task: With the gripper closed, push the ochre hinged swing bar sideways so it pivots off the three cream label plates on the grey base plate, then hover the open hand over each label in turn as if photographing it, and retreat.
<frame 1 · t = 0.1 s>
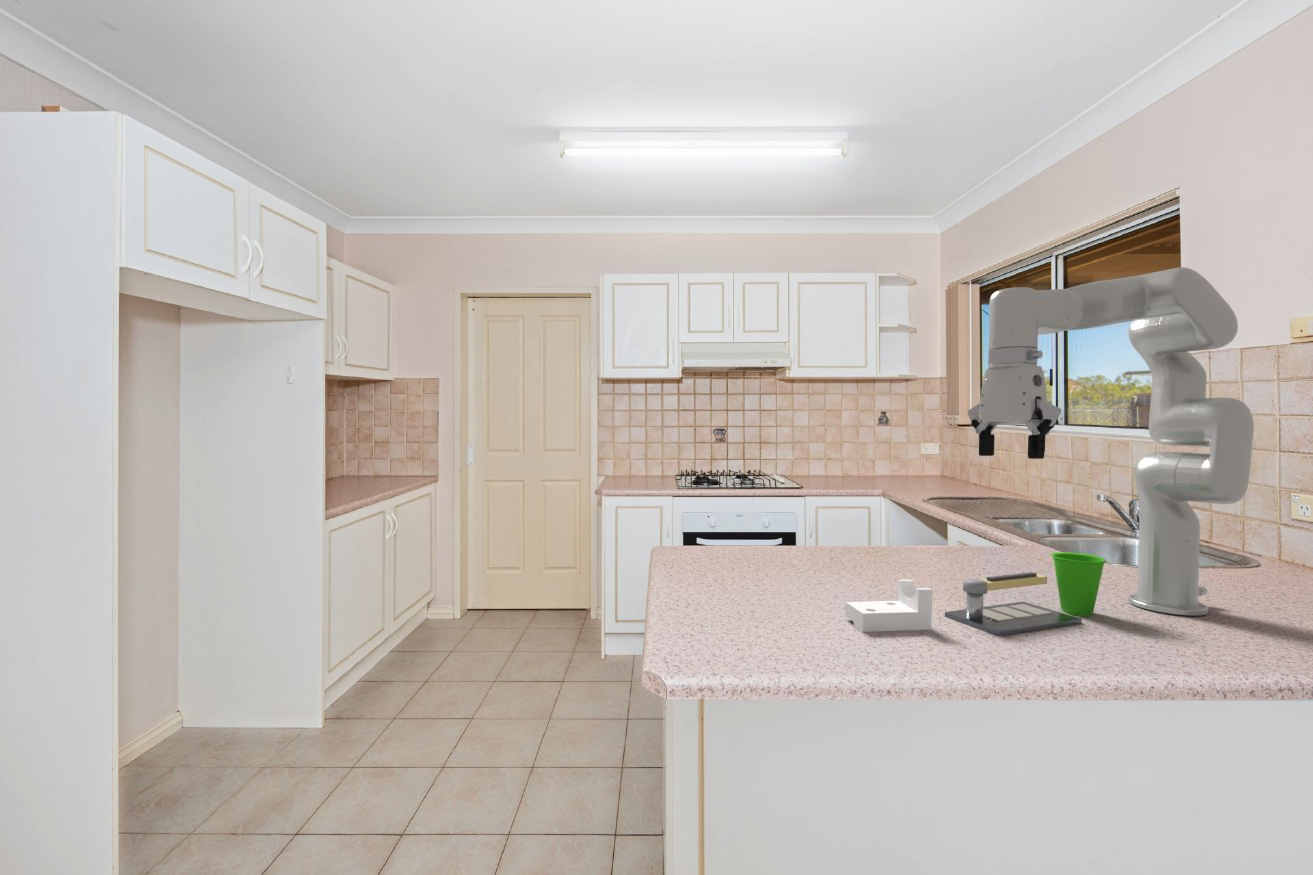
hand: (1010, 457, 110), 31 cm above the countertop, fingers open, 9 cm apart
bracket: (887, 627, 114), on the countertop
swing arm: (1005, 581, 118), point 7 cm above the countertop, hinge at 0.0°
cup: (1076, 613, 123), on the countertop
grey base plate: (1012, 619, 118), on the countertop
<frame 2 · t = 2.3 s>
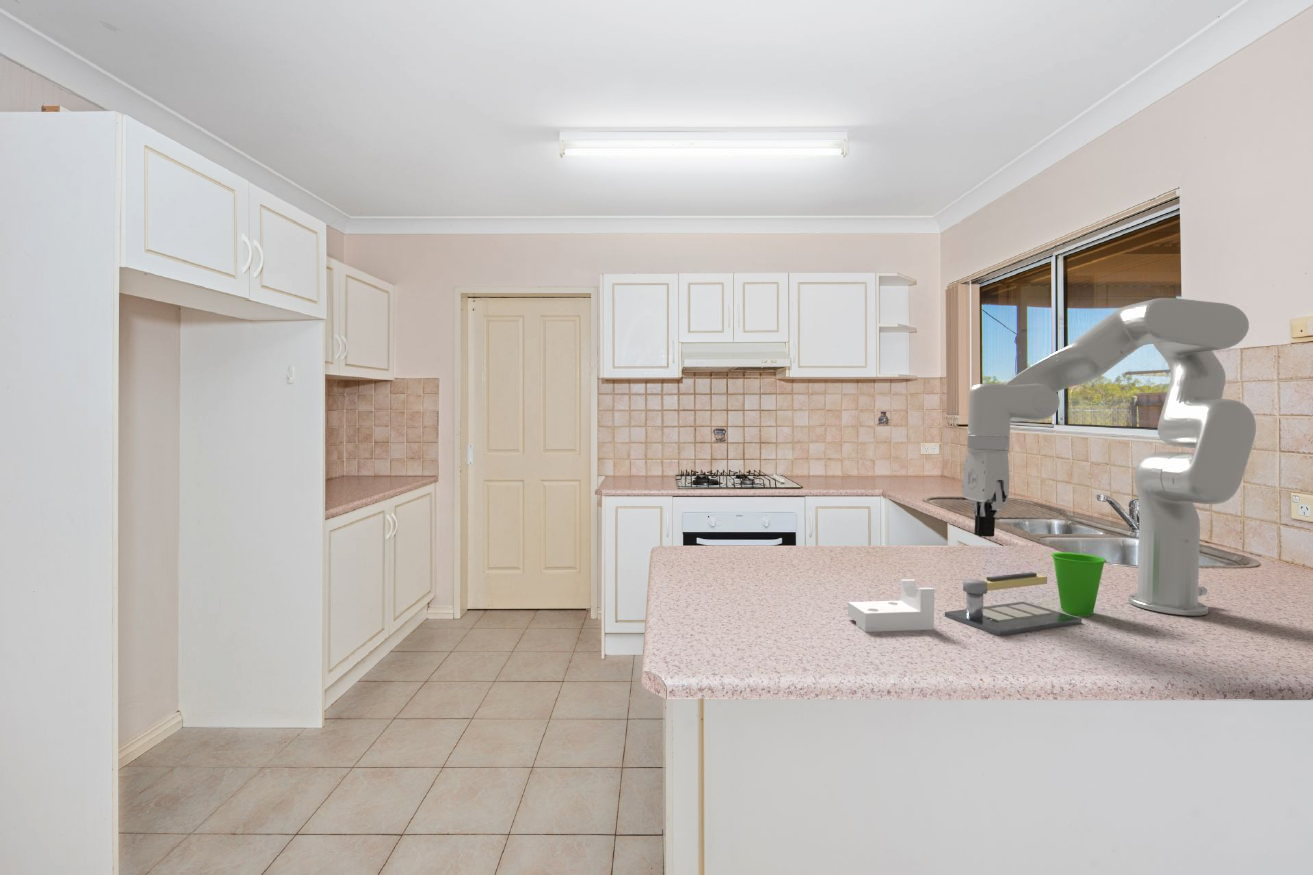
hand: (984, 535, 126), 14 cm above the countertop, fingers closed
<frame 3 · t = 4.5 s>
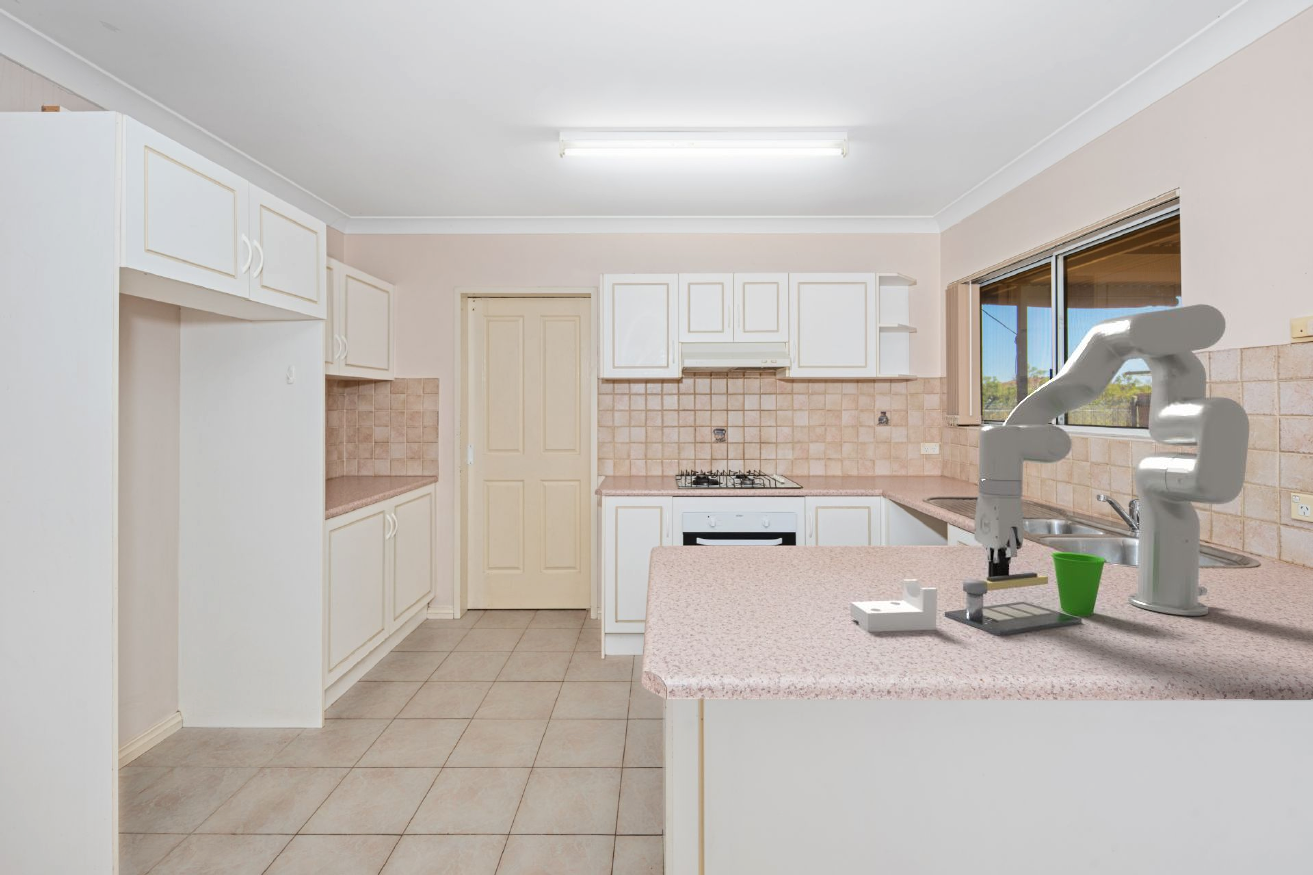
hand: (998, 582, 122), 6 cm above the countertop, fingers closed
swing arm: (1005, 581, 118), point 7 cm above the countertop, hinge at 0.5°, touching gripper
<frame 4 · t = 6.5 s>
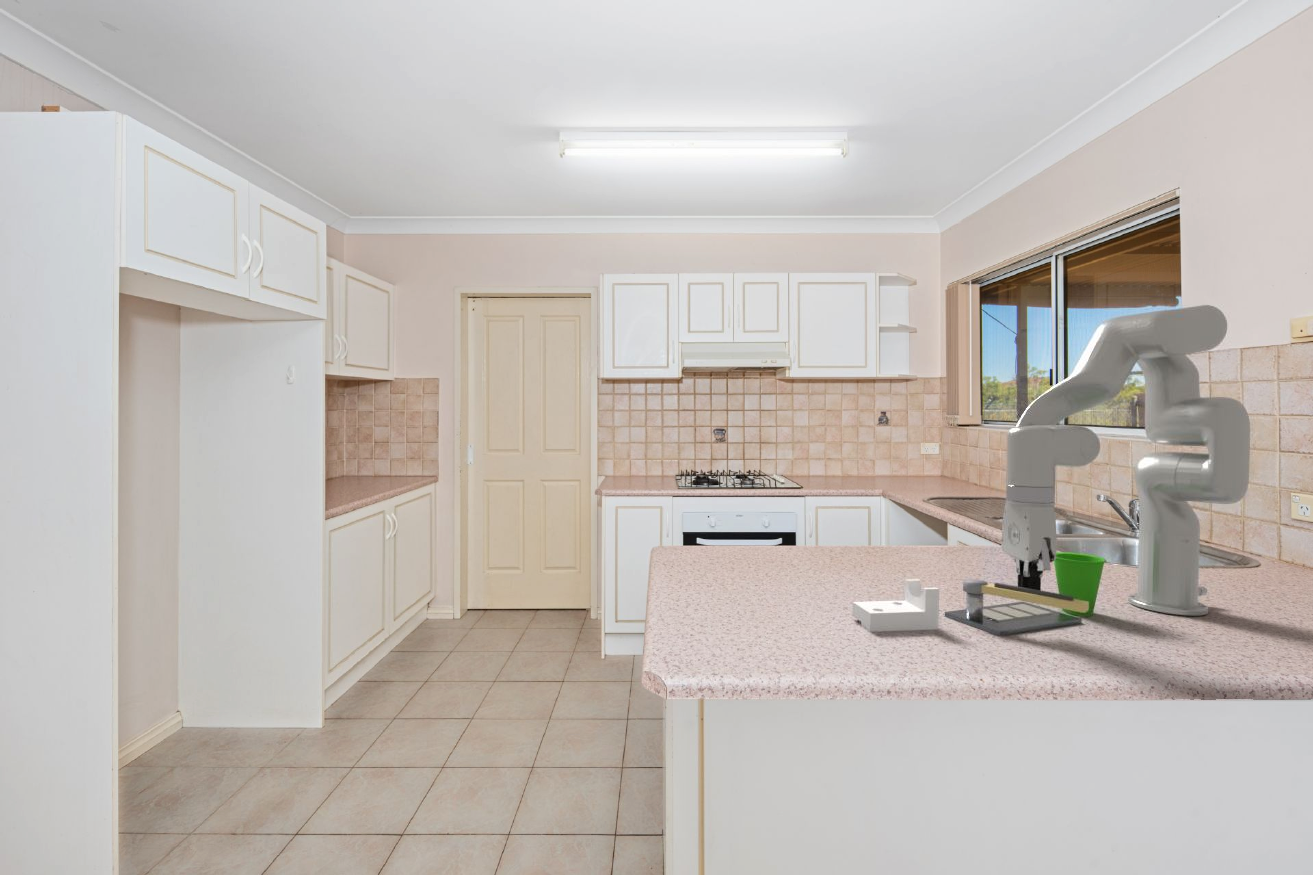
hand: (1028, 597, 112), 6 cm above the countertop, fingers closed
swing arm: (1021, 593, 110), point 7 cm above the countertop, hinge at 69.0°, touching gripper
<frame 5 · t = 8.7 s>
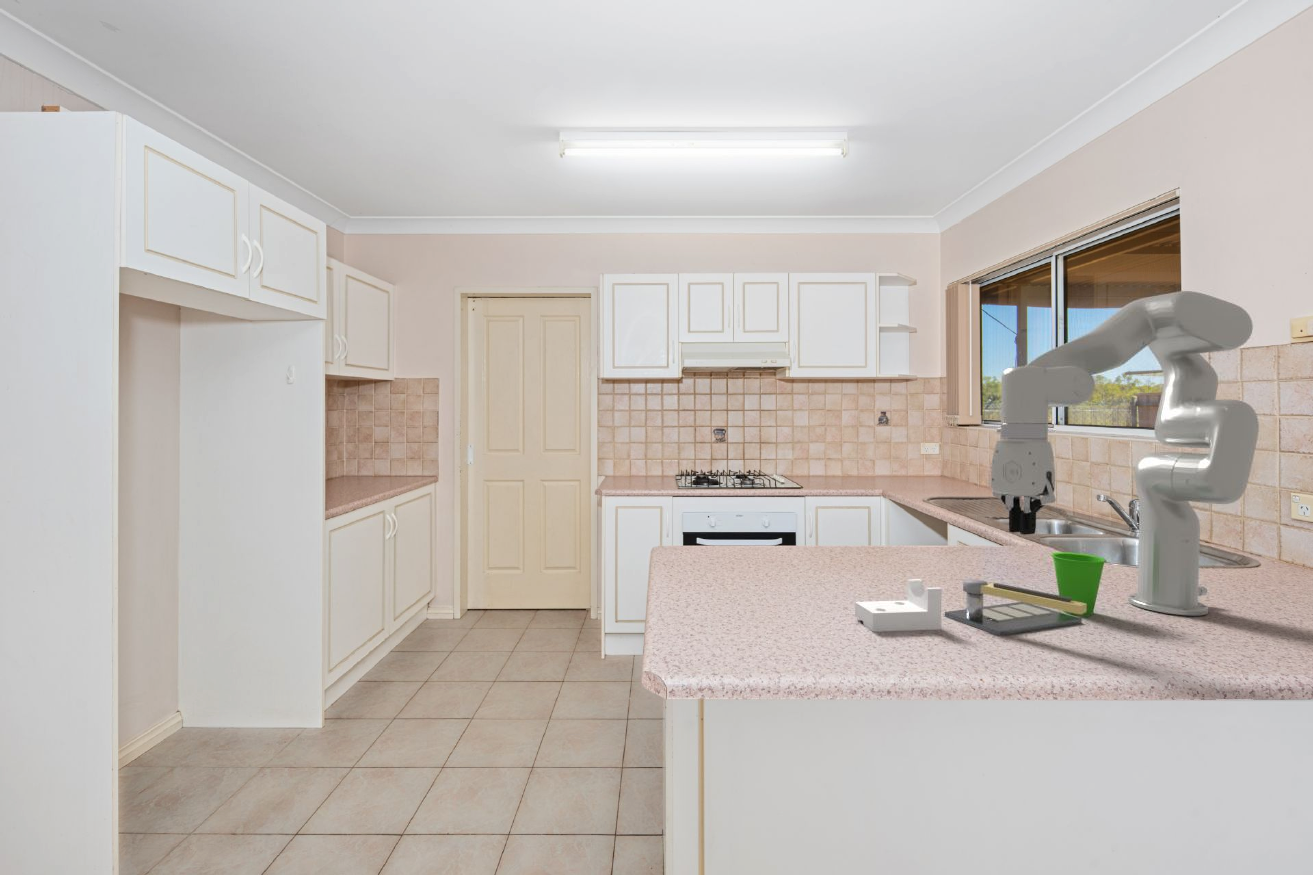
hand: (1022, 532, 115), 17 cm above the countertop, fingers closed
swing arm: (1019, 594, 109), point 7 cm above the countertop, hinge at 74.0°
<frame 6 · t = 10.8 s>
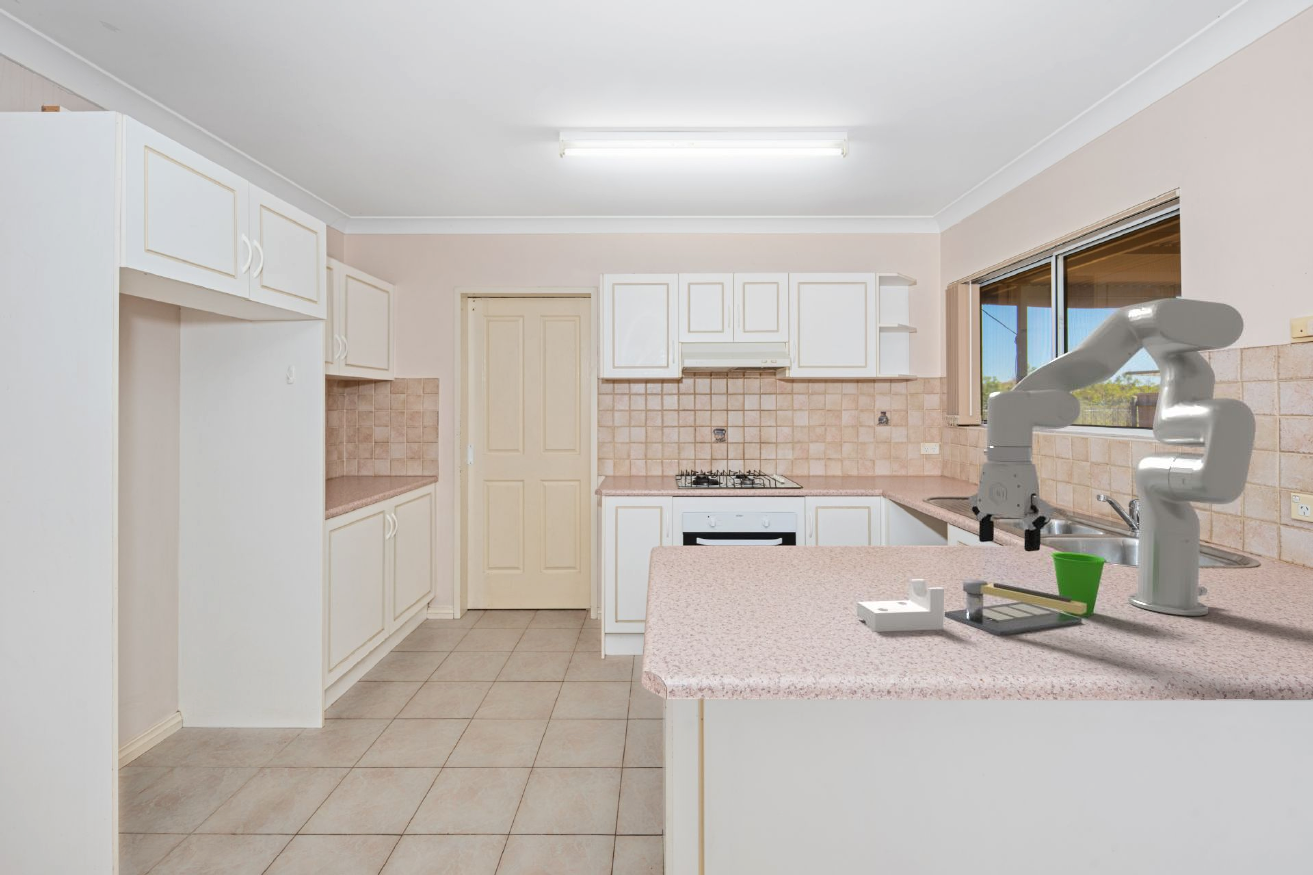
hand: (1008, 545, 118), 14 cm above the countertop, fingers open, 9 cm apart
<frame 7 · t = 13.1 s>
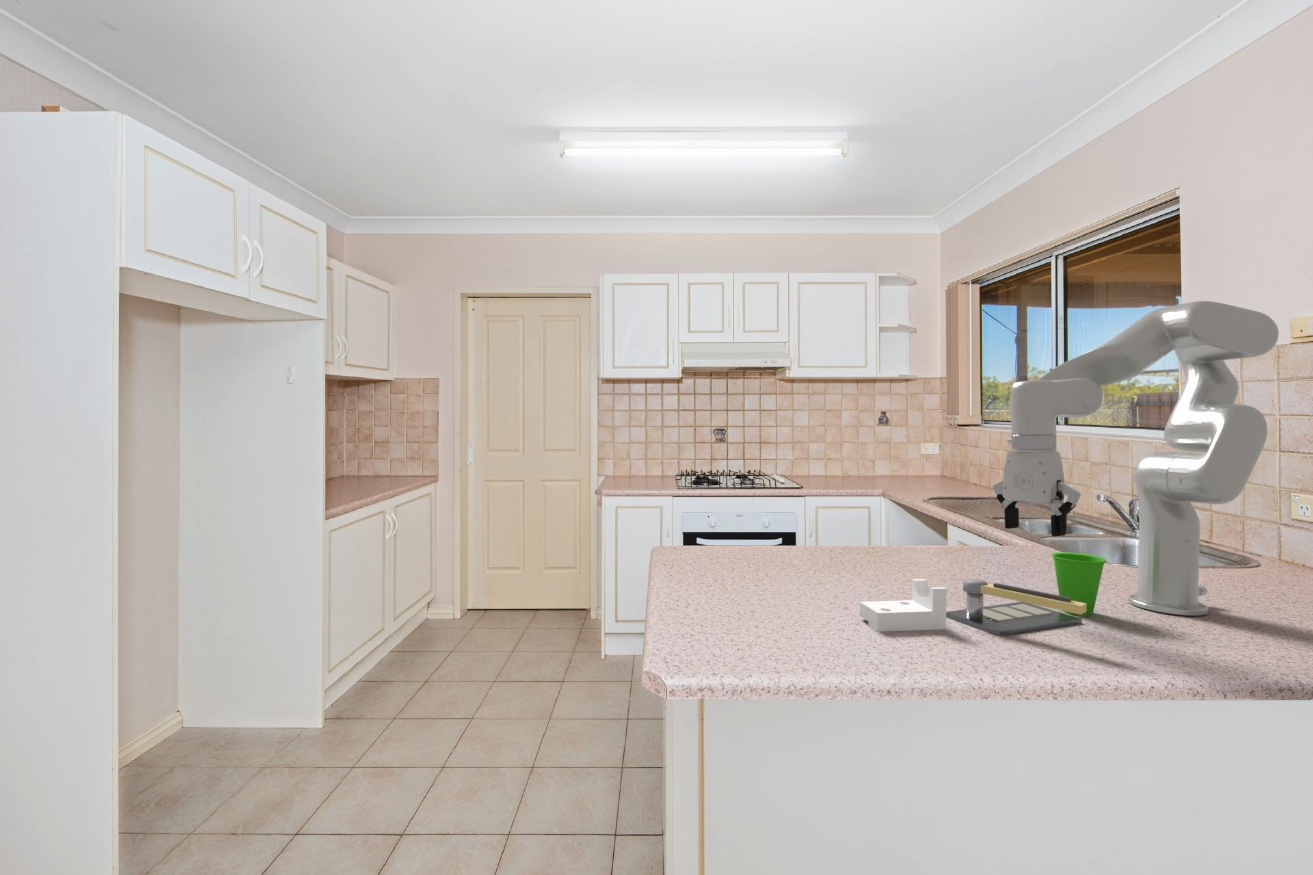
hand: (1034, 531, 121), 16 cm above the countertop, fingers open, 9 cm apart
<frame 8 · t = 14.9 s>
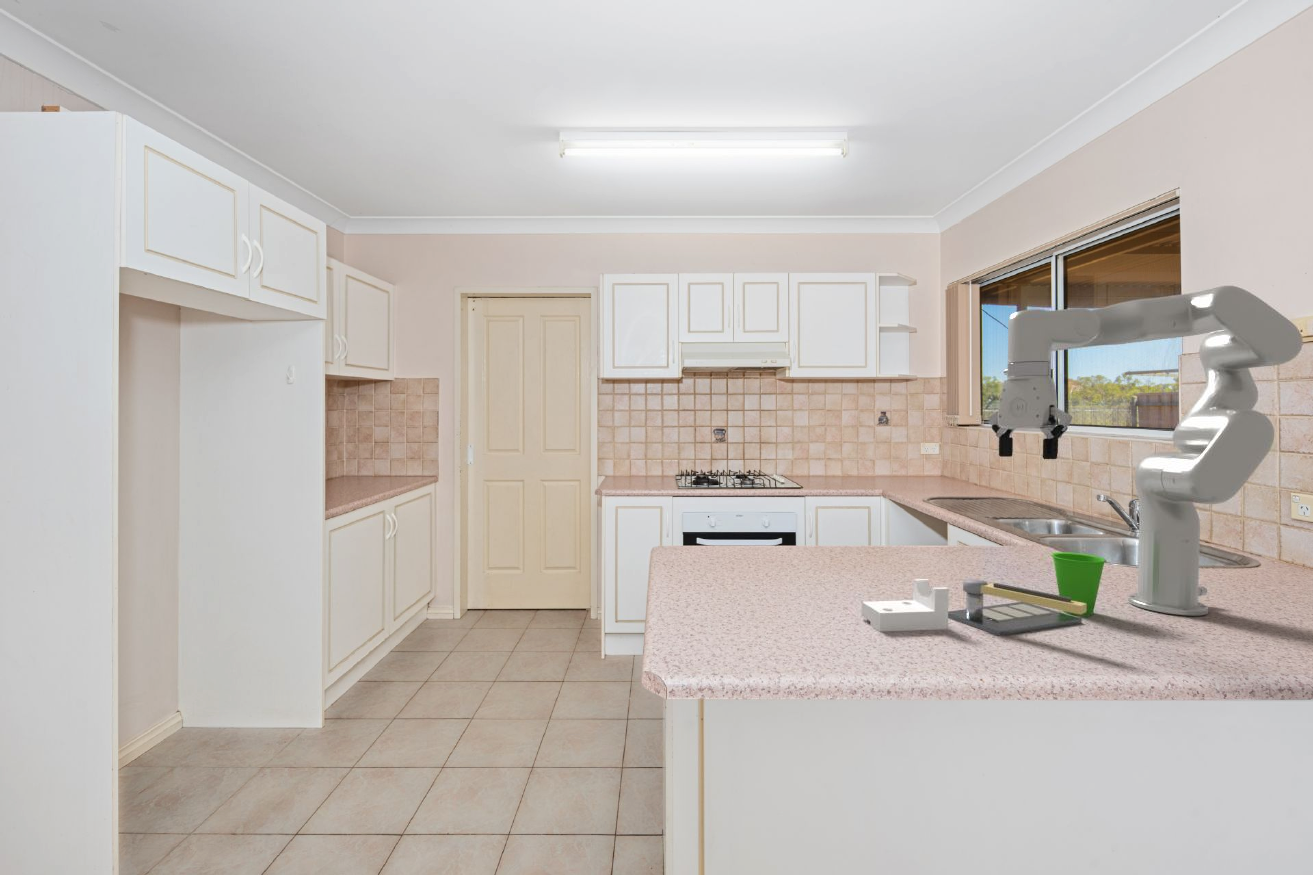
hand: (1027, 457, 125), 30 cm above the countertop, fingers open, 9 cm apart
at the end: swing arm at +74° (first picture: +0°) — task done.
